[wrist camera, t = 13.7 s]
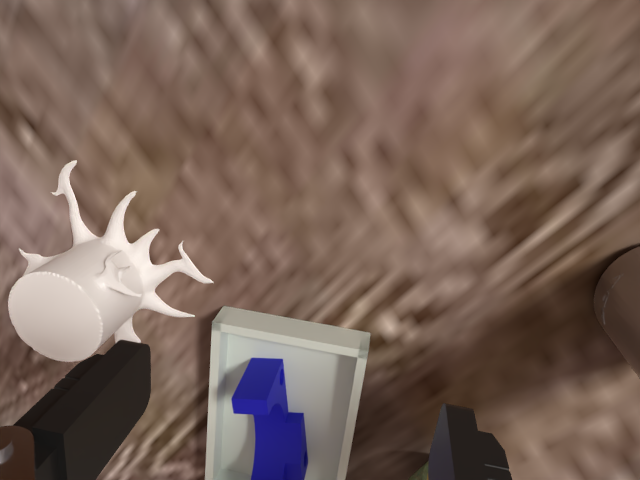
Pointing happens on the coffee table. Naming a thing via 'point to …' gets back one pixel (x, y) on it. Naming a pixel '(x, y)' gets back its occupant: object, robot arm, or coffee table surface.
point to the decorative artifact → (421, 473)
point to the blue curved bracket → (272, 422)
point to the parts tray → (301, 387)
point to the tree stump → (90, 287)
